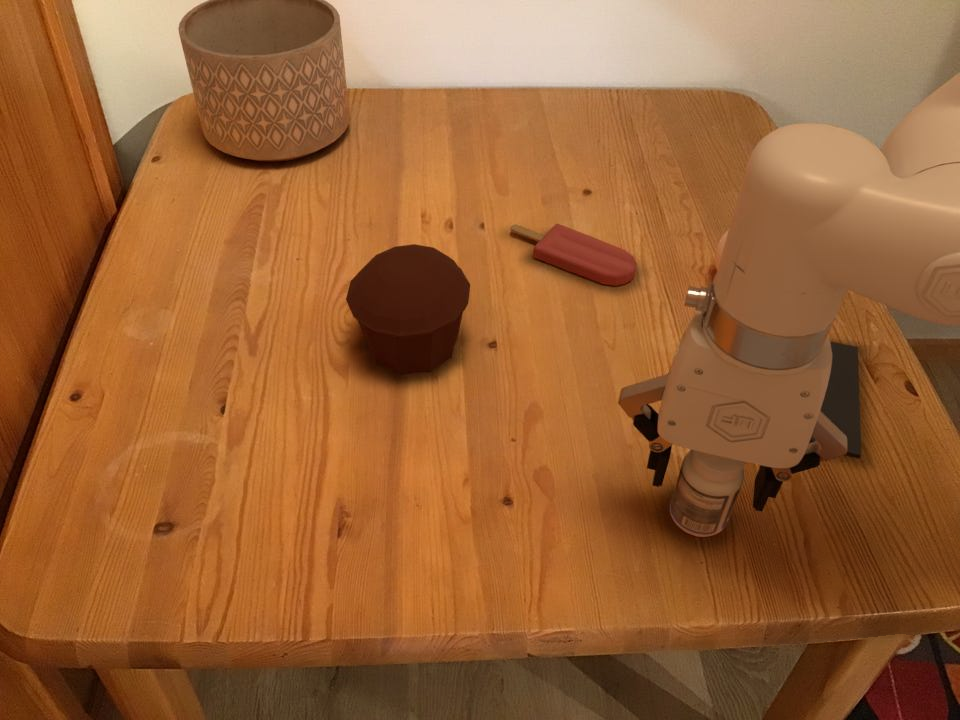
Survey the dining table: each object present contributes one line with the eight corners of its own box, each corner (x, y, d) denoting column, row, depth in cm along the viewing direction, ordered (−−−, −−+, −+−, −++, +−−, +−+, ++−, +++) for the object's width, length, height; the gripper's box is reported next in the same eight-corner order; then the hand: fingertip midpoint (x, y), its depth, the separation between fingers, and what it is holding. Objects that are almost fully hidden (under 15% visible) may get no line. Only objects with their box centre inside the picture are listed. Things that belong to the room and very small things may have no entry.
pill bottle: (699, 481, 72) (721, 416, 66) (739, 521, 69) (766, 458, 63) (656, 506, 70) (675, 442, 64) (695, 548, 67) (719, 485, 61)
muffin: (396, 289, 88) (390, 210, 81) (490, 325, 85) (492, 246, 78) (329, 360, 81) (316, 280, 74) (429, 403, 77) (426, 323, 70)
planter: (353, 93, 117) (342, -12, 107) (348, 168, 104) (336, 56, 94) (215, 96, 116) (192, -11, 105) (194, 172, 103) (164, 59, 92)
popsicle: (523, 209, 96) (645, 255, 91) (523, 220, 97) (642, 266, 92) (499, 233, 93) (623, 282, 87) (498, 244, 94) (621, 293, 88)
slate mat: (856, 349, 83) (857, 346, 83) (859, 458, 74) (861, 455, 73) (712, 320, 86) (713, 318, 86) (698, 422, 76) (698, 419, 76)
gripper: (621, 328, 53) (589, 495, 66) (915, 389, 50) (822, 552, 62) (639, 256, 58) (606, 424, 71) (907, 307, 55) (822, 473, 67)
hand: (708, 483), depth 66 cm, fingers open, 7 cm apart
